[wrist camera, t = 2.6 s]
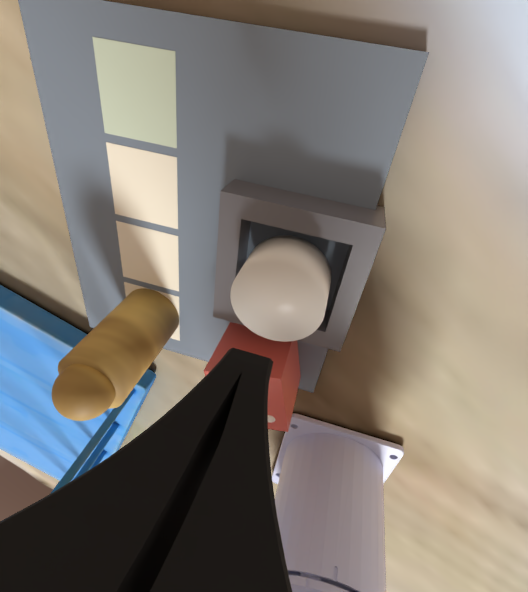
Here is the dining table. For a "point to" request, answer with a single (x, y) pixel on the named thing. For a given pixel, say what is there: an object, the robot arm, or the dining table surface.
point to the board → (203, 142)
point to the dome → (282, 289)
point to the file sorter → (38, 396)
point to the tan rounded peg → (114, 355)
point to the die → (282, 373)
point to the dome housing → (303, 219)
